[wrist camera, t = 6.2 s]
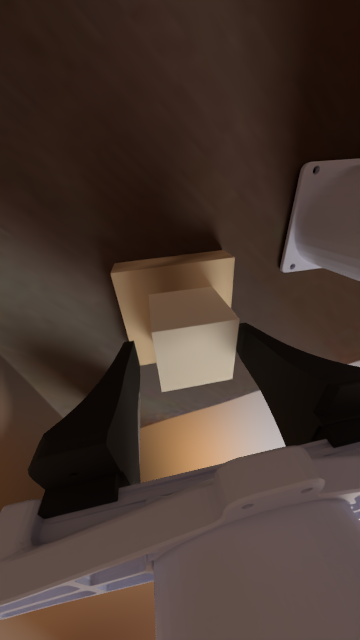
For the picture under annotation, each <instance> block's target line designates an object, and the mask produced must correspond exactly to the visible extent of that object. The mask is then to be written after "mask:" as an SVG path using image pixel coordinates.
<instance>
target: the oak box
mask: <svg viewBox="0 0 360 640" xmlns="http://www.w3.org/2000/svg"><path fill="white" fill-rule="evenodd" d="M234 260H235V257H233V256H232V255H230V254H228V253H227V252H225V251H223V250H218V251H210V252H202V253H194V254H186V255H178V256H170V257H162V258H153V259H145V260H137V261H129V262H121V263H114V266H113V268H112V270H111V273H110V274H111V278H112V281H113V285H114V288H115V292H116V296H117V299H118V303H119V306H120V310H121V313H122V317H123V321H124V324H125V328H126V331H127V335H128V338H129V341H134V343H135V347H136V351H137V355H138V359H139V363H140V365H146V364H151V363H157V361H156V355H155V350H154V344H153V339H152V333H151V321H150V308H149V296H148V295H149V294H157V293H165V292H172V291H180V290H188V289H196V288H203V287H211V286H212V287H213V288H214V289H215V290H216V292H217V293H218V294H219V295H220V296H221V298H222V299H223V300H224V301H225V302H226V304H227V305H228V306H229V307H230V308H231V300H232V287H233V273H234Z"/></svg>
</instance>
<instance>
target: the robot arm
mask: <svg viewBox="0 0 360 640" xmlns="http://www.w3.org/2000/svg"><path fill="white" fill-rule="evenodd" d="M314 167H315V168H316V171H315V173H314V174H313V169H314ZM291 265H292V267H291V268H290V266H291ZM316 268H325V269H328V270H331V271H333V272H336V273H339V274H342V275H344V276H347V277H350V278H353V279H355V280H358V281H360V158H359V159H344V160H330V161H315V162H308V163H306V164H304V165H303V167H302V168H301V171H300V175H299V180H298V185H297V189H296V194H295V199H294V204H293V208H292V213H291V218H290V223H289V227H288V232H287V237H286V241H285V246H284V251H283V256H282V260H281V265H280V270H281V271H282V272H293V271H301V270H308V269H316ZM236 350H237V352H238V354H239V356H240V359H241V360H242V362H243V363H244V365H245V367H246V368H247V370H248V371H249V373H250V374H251V376H252V377H253V379H254V380H255V382H256V384H257V385H258V387H259V389H260V390H261V392H262V394H263V396H264V398H265V400H266V402H267V404H268V406H269V408H270V410H271V413H272V415H273V417H274V419H275V421H276V424H277V426H278V428H279V430H280V433H281V435H282V437H283V440H284V442H285V445H286V447H282V448H277V449H273V450H269V451H265V452H261V453H256V454H252V455H248V456H244V457H239V458H236V459H233V460H230V461H228V462H226V463H223V464H219V465H215V466H210V467H207V468H202V469H198V470H194V471H189V472H185V473H181V474H177V475H173V476H169V477H164V478H160V479H156V480H152V481H148V482H143V483H140V466H139V444H138V400H139V387H140V363H139V359H138V355H137V351H136V347H135V343H134V341H128V342H124V343H123V345H122V347H121V349H120V351H119V353H118V354H117V356H116V358H115V360H114V361H113V363H112V365H111V366H110V368H109V369H108V371H107V372H106V373H105V375H104V376H103V378H102V379H101V380H100V382H99V383H98V384H97V385H96V386H95V388H94V389H93V390H92V391H91V392H90V393H89V394H88V396H87V397H86V398H85V399H84V400H83V401H82V402H81V403H80V404H79V405H78V406H77V407H76V408H75V409H73V410H72V411H71V412H70V413H69V414H68V415H67V416H66V417H64V418H63V419H62V420H61V421H60V422H58V423H57V424H56V425H55V426H53V427H52V428H51V429H50V430H48V431H47V432H46V433H44V435H43V437H42V439H41V441H40V442H39V445H38V447H37V449H36V452H35V454H34V456H33V459H32V461H31V464H30V466H29V469H28V474H29V476H30V477H31V478H32V479H33V480H34V481H35V482H36V483H38V484H39V485H40V486H41V487H42V488H44V489H45V493H44V496H43V499H42V500H39V499H34V500H28V501H24V502H20V503H16V504H11V505H7V506H5V507H4V508H3V509H2V511H1V513H0V620H1V619H6V618H9V617H13V616H17V615H20V614H24V613H27V612H31V611H34V610H38V609H42V608H46V607H50V606H53V605H57V604H61V603H65V602H69V601H73V600H77V599H81V598H85V597H90V596H94V595H98V594H102V593H106V592H111V591H115V590H119V589H123V588H127V587H131V586H136V585H140V584H144V583H148V582H152V581H154V596H155V624H156V625H155V626H156V640H360V520H359V519H360V367H357V366H352V365H347V364H343V363H339V362H335V361H331V360H328V359H324V358H321V357H318V356H315V355H312V354H309V353H306V352H304V351H301V350H299V349H296V348H294V347H291V346H289V345H287V344H285V343H283V342H281V341H279V340H277V339H275V338H273V337H271V336H269V335H267V334H265V333H264V332H262V331H260V330H258V329H257V328H255V327H253V326H251V325H249V324H247V323H241V324H239V328H238V336H237V344H236Z"/></svg>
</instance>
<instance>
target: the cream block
mask: <svg viewBox="0 0 360 640" xmlns="http://www.w3.org/2000/svg"><path fill="white" fill-rule="evenodd" d="M148 296H149V308H150V321H151V333H152V339H153V344H154V350H155V355H156V361H157V367H158V372H159V378H160V384H161V389H162V392H165V391H171V390H176V389H181V388H187V387H192V386H197V385H203V384H208V383H213V382H219V381H224V380H229V379H232V377H233V369H234V361H235V353H236V344H237V336H238V328H239V320H240V319H239V318H238V317H237V316H236V314H235V313H234V312H233V311H232V310H231V308H230V307H229V306H228V305H227V304H226V302H225V301H224V300H223V299H222V298H221V296H220V295H219V294H218V293H217V292H216V290H215V289H214V288H213V287H212V286H211V287H203V288H196V289H188V290H180V291H172V292H165V293H157V294H149V295H148Z"/></svg>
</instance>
